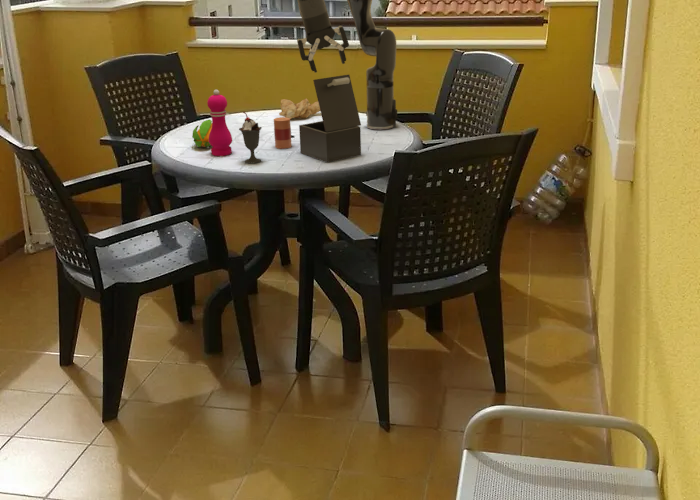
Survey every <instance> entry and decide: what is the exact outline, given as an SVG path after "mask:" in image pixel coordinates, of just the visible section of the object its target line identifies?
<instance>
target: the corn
mask: <svg viewBox="0 0 700 500" xmlns="http://www.w3.org/2000/svg"><path fill="white" fill-rule="evenodd" d="M211 128H212V119H205V120H203V121H202V122H201V124H200V125H196V126H195V128H194V129H193V130H192V135H191V137H192V139H193V142H194V144H195V146H197V147H198V148H201V147H204V148H209V147H210V146H211V145H210V143H209V134H210V131H211ZM211 147H212V146H211Z"/></svg>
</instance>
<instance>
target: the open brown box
mask: <svg viewBox="0 0 700 500" xmlns="http://www.w3.org/2000/svg"><path fill="white" fill-rule="evenodd" d="M298 128H299V147H300V148H299V150H300V154H302V155H305V156H308V157H311V158H313V159H316V160H319V161H322V162H324V163H332V162H336V161H341V160H345V159H350V158H354V157H359V156H362V138H361V137H362V136H361V131H362V130H361V126H355V127H350V128H345V129H340V130H335V131H330V132H325V128H324V124H323V120H319V121H314V122H310V123H304V124H299V125H298Z"/></svg>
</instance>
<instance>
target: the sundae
mask: <svg viewBox="0 0 700 500" xmlns="http://www.w3.org/2000/svg"><path fill="white" fill-rule="evenodd" d="M243 114H244V115H245V116H246V118H244V122H243V123H242V125H241V127H239V129H238V130H239V131H240V132H241V135H242V139H243V143H244V146H245V148H246V149H248V150H249V152H250V155H249V156H250V157H249V158H248V159H247V158H246V159H245V160H244V162H245V164H258V163H261V162H262V159H261V158H257V157H256V155H255V150H256V149H257V148H258V147H259V144H260V131H261V130H262V128H263V127H262V126H259V123H258V122H256V121H255V120H254V119H252V118H250V117H249V116H248V114H247V113H246V111H243Z"/></svg>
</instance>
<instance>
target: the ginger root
mask: <svg viewBox="0 0 700 500" xmlns="http://www.w3.org/2000/svg"><path fill="white" fill-rule="evenodd" d="M280 110H281V111H280V112H279V114H278V115H279V116H281V117H287V118H290V120H291V119H307V118H308V117H310V116H313V115H315V114H317V113H320V112H321V111H320V107H319V103H318V100H317V101H315V102H313V103H310V101H309V99H307V98H304V99H302V100H301V101H300V102H298V103H295V102H293V101H292V100H290V99H287V98H286V99H283V98H282V99H280Z"/></svg>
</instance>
